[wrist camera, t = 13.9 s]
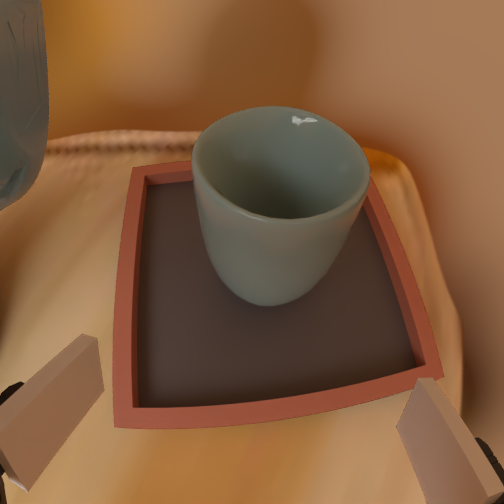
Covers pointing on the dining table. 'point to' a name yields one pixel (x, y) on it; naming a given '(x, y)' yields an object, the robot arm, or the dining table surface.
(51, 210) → the dining table surface
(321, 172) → the cup
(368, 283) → the tray
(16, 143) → the robot arm
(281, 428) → the dining table surface
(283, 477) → the dining table surface
